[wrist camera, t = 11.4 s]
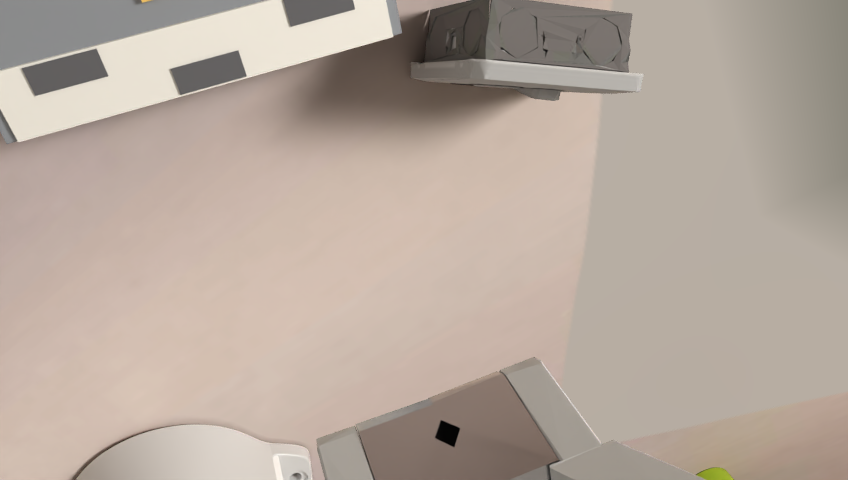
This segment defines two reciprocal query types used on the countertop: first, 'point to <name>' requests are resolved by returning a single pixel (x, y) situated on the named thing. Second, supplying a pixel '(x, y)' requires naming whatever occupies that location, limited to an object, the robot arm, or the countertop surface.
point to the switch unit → (159, 51)
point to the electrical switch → (529, 48)
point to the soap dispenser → (715, 474)
